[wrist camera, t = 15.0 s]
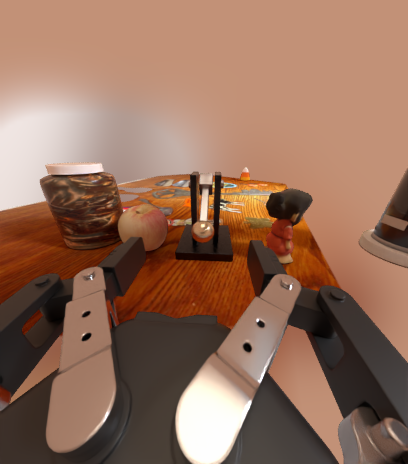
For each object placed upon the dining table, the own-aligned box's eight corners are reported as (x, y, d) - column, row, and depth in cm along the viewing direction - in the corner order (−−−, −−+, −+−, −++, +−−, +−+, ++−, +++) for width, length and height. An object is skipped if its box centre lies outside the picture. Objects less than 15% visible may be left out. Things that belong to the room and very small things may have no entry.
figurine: (281, 269, 26) (302, 196, 21) (253, 253, 30) (265, 188, 25) (301, 256, 30) (323, 190, 24) (273, 243, 34) (287, 184, 28)
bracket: (232, 261, 28) (240, 179, 22) (175, 259, 29) (168, 178, 22) (227, 231, 39) (232, 169, 33) (186, 229, 39) (183, 169, 33)
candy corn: (239, 180, 105) (241, 167, 101) (240, 180, 107) (241, 167, 104) (249, 181, 104) (250, 167, 100) (249, 180, 106) (250, 167, 103)
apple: (156, 232, 38) (151, 198, 34) (178, 247, 32) (175, 208, 29) (117, 245, 33) (106, 207, 29) (135, 266, 27) (124, 221, 23)
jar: (118, 221, 44) (103, 161, 37) (135, 237, 36) (119, 164, 29) (63, 235, 37) (32, 163, 30) (69, 258, 29) (28, 168, 22)
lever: (213, 247, 23) (214, 235, 21) (191, 246, 23) (189, 234, 21) (215, 186, 30) (215, 171, 28) (198, 185, 31) (197, 171, 28)
